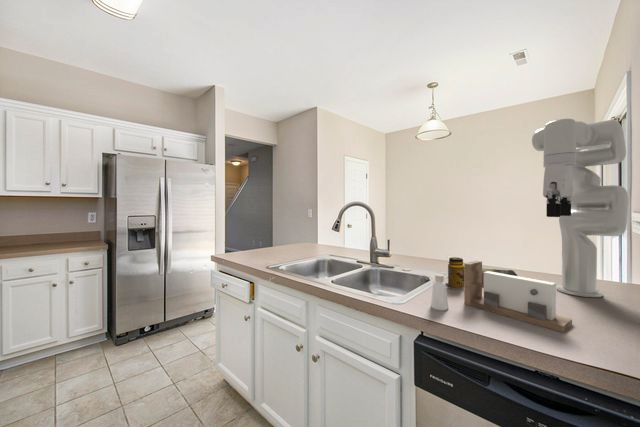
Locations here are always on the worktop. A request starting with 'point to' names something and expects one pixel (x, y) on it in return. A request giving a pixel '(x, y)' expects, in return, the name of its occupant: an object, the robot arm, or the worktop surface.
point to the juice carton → (509, 272)
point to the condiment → (455, 273)
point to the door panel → (521, 292)
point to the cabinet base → (492, 304)
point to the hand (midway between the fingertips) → (559, 216)
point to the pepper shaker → (439, 294)
